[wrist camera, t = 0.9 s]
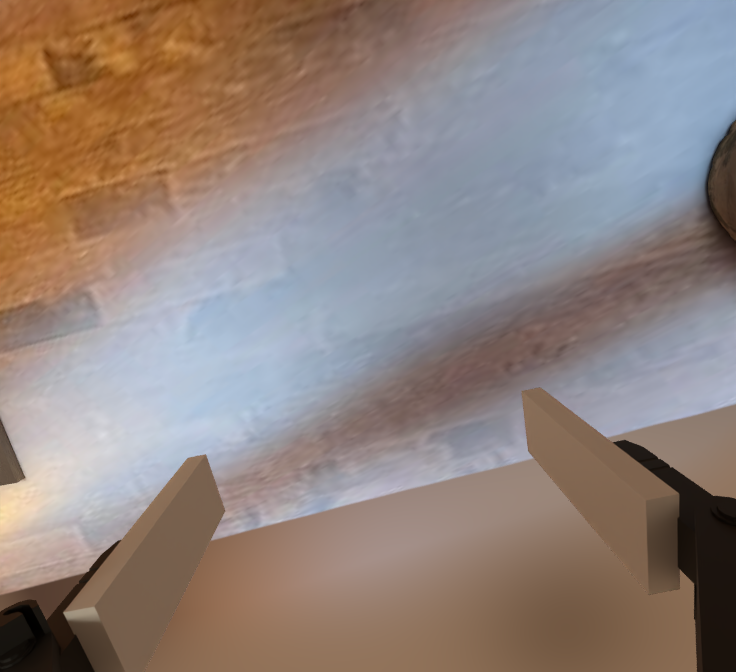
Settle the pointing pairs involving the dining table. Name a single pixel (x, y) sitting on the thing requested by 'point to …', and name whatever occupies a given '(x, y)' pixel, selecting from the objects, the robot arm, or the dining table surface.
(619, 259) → the dining table surface
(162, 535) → the robot arm
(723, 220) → the clay pot
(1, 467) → the rail
